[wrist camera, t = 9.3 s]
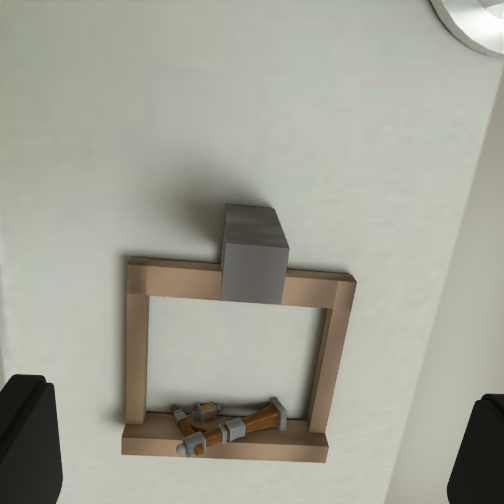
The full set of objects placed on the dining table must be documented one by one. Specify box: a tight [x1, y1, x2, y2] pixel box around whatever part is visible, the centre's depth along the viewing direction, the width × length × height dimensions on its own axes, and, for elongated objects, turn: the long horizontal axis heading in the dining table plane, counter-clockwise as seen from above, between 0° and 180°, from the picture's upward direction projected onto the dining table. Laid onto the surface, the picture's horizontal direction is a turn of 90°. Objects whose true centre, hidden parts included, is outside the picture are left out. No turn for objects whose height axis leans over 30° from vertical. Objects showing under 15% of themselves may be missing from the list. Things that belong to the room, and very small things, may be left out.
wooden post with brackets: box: [172, 397, 287, 458], centre depth 32 cm, size 2×8×4 cm, turn 88°
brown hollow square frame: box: [122, 204, 357, 463], centre depth 27 cm, size 14×18×7 cm
